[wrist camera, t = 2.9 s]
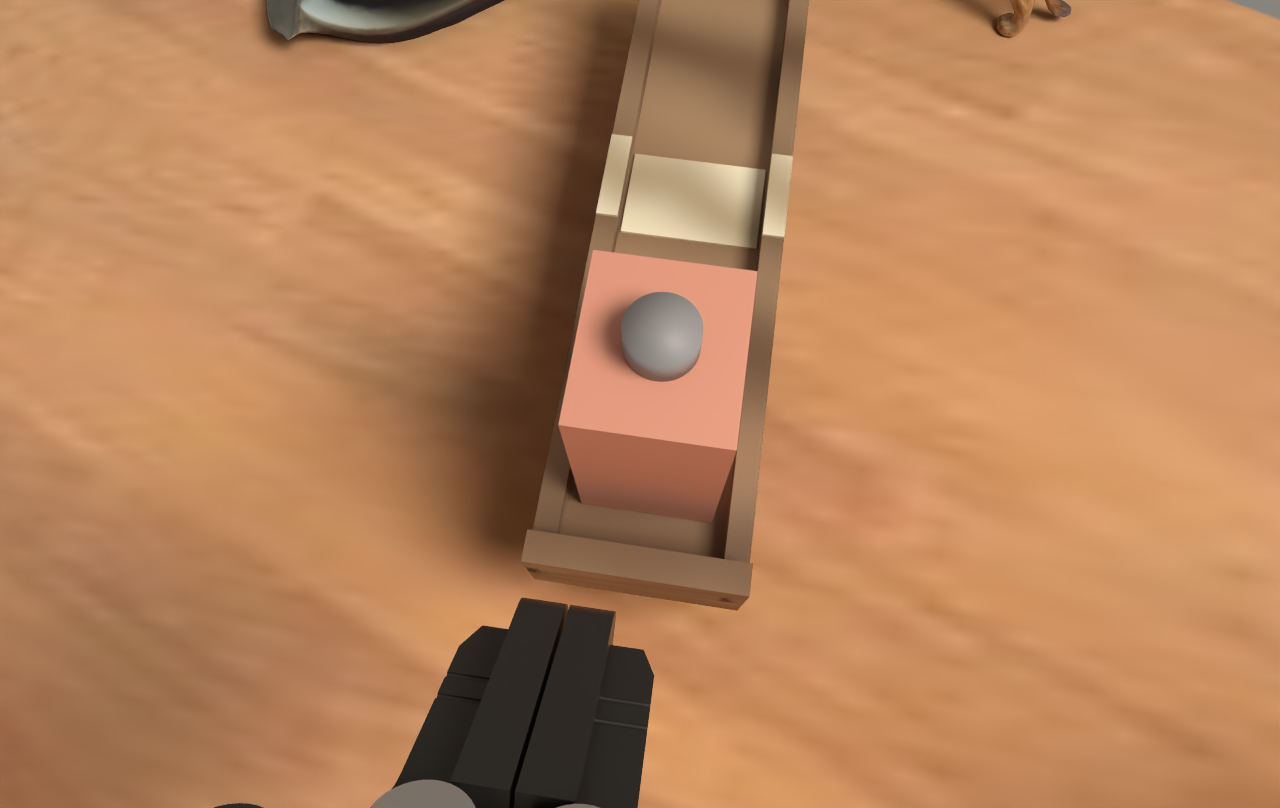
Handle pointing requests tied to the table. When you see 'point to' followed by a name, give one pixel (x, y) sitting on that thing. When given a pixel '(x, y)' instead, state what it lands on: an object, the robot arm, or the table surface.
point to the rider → (657, 383)
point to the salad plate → (370, 17)
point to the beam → (697, 233)
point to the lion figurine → (1027, 15)
